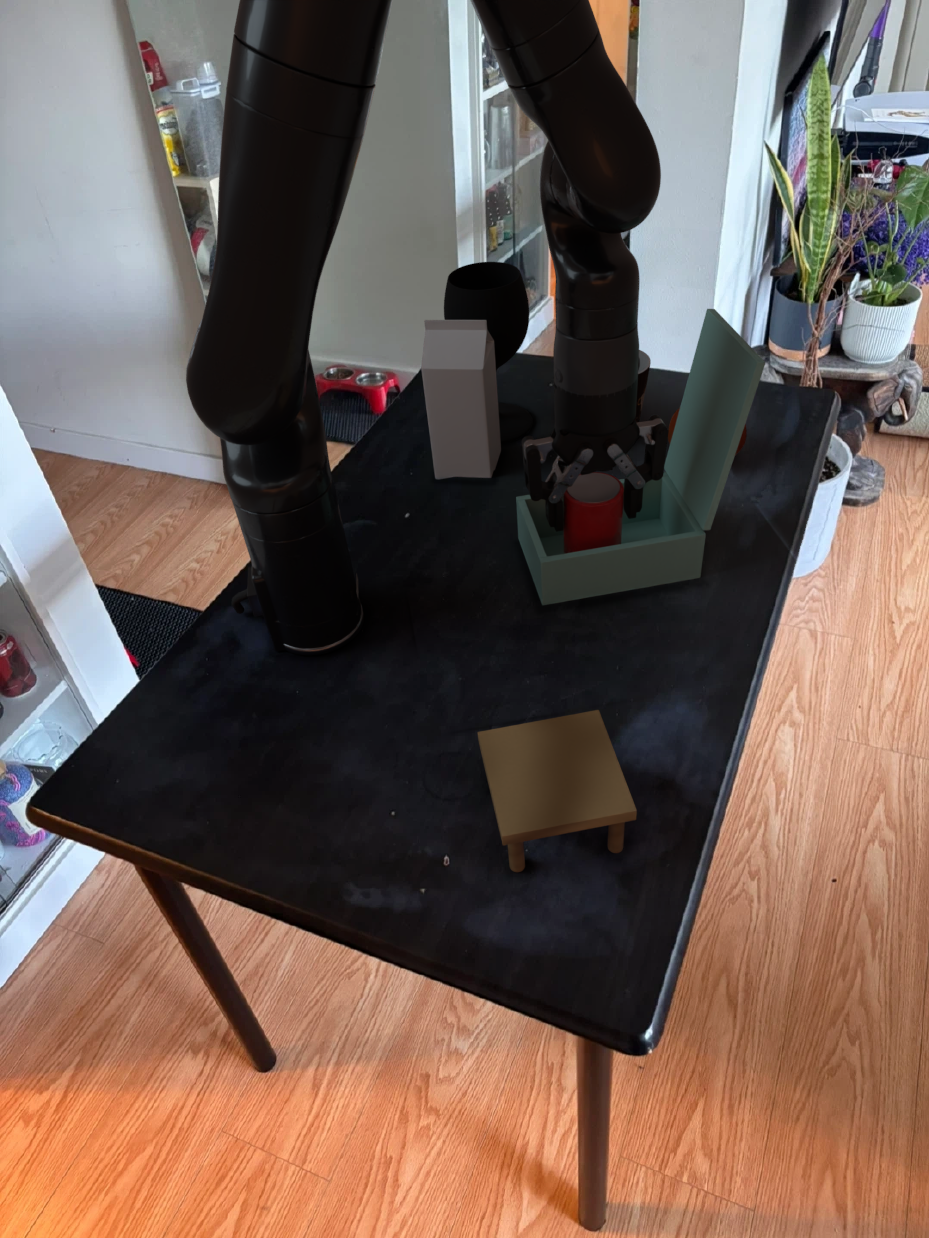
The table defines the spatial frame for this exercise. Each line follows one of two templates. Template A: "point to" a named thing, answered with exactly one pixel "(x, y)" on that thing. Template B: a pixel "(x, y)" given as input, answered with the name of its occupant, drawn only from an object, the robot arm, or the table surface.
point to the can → (592, 512)
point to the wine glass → (494, 322)
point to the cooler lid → (712, 416)
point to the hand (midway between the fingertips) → (593, 520)
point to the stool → (555, 781)
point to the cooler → (615, 548)
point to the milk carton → (461, 398)
